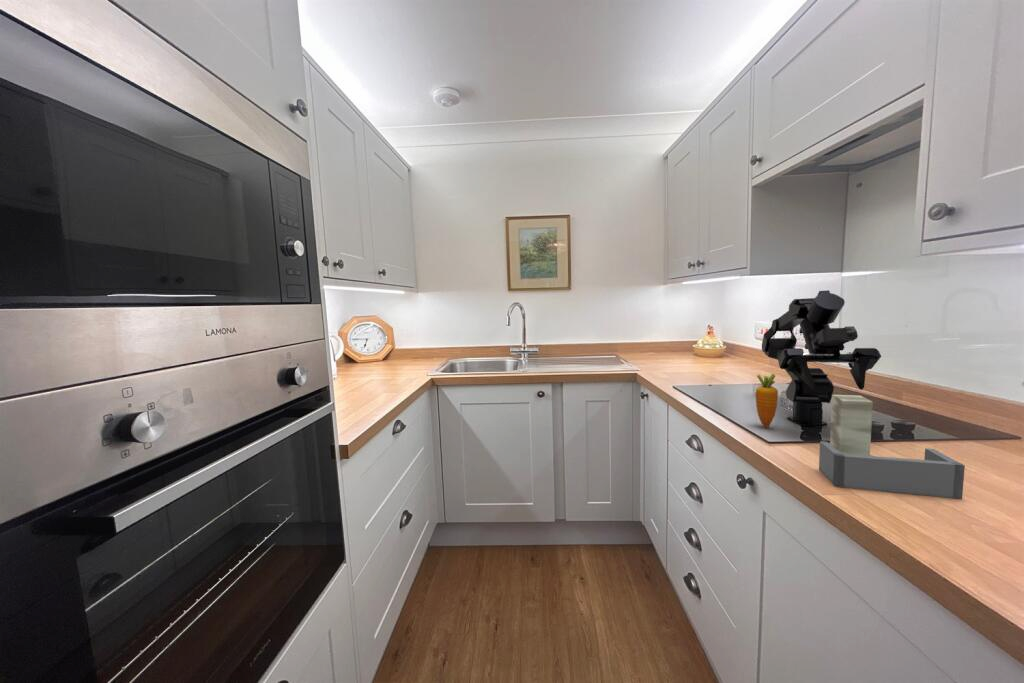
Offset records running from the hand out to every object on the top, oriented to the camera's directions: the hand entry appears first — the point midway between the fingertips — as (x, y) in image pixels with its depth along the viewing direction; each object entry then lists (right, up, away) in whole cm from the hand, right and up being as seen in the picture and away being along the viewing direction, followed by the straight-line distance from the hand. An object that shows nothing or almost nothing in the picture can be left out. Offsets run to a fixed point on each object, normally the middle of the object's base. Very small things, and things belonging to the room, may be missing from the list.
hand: (837, 388), depth 85 cm
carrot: (-7, -13, +14) cm, 20 cm away
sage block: (-1, -14, -5) cm, 15 cm away
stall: (-6, -16, -16) cm, 23 cm away
